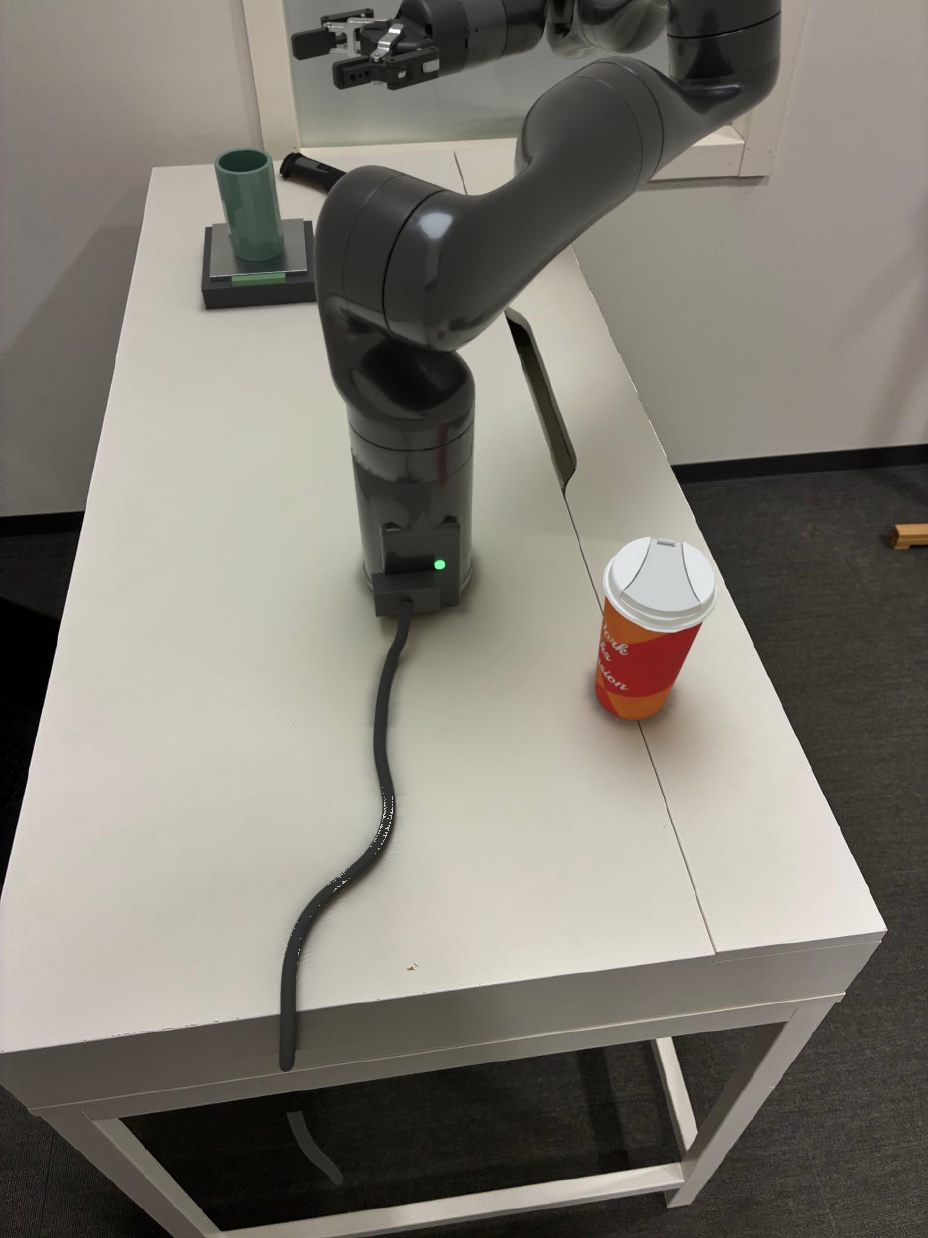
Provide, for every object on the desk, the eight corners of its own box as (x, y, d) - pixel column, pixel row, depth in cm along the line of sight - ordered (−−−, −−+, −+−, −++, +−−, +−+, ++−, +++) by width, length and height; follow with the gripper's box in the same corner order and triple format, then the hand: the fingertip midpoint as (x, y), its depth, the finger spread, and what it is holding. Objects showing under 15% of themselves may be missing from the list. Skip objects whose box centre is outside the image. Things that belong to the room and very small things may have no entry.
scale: (319, 300, 102) (316, 275, 100) (206, 309, 101) (199, 283, 99) (314, 239, 111) (311, 214, 108) (209, 246, 110) (203, 221, 107)
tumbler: (285, 259, 102) (272, 171, 94) (231, 263, 101) (213, 175, 94) (284, 232, 106) (271, 146, 98) (232, 235, 105) (214, 149, 97)
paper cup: (587, 643, 72) (611, 522, 61) (682, 659, 71) (724, 540, 60) (575, 723, 67) (599, 608, 56) (676, 742, 66) (721, 629, 55)
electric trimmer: (365, 212, 116) (363, 188, 113) (277, 177, 121) (274, 153, 119) (383, 201, 118) (382, 177, 115) (296, 167, 123) (293, 143, 120)
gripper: (414, -32, 92) (274, -5, 86) (493, 8, 85) (345, 41, 79) (416, 49, 98) (285, 79, 92) (490, 93, 91) (352, 129, 85)
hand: (313, 61), depth 85 cm, fingers open, 8 cm apart
